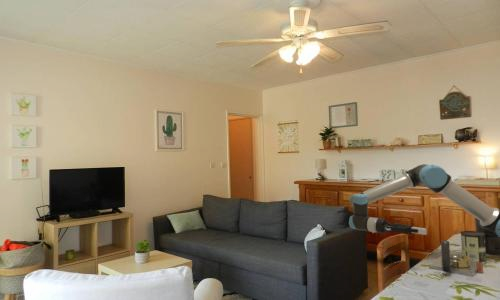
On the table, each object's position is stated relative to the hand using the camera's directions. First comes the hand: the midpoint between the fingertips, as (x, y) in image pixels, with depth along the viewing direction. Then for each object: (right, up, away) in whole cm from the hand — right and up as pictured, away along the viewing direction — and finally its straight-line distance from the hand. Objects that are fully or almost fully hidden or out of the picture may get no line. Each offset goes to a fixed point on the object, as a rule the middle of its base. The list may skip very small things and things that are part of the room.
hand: (426, 231), depth 160 cm
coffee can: (+29, -17, +9) cm, 35 cm away
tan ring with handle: (+11, -15, -2) cm, 19 cm away
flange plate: (+15, -17, 0) cm, 23 cm away
